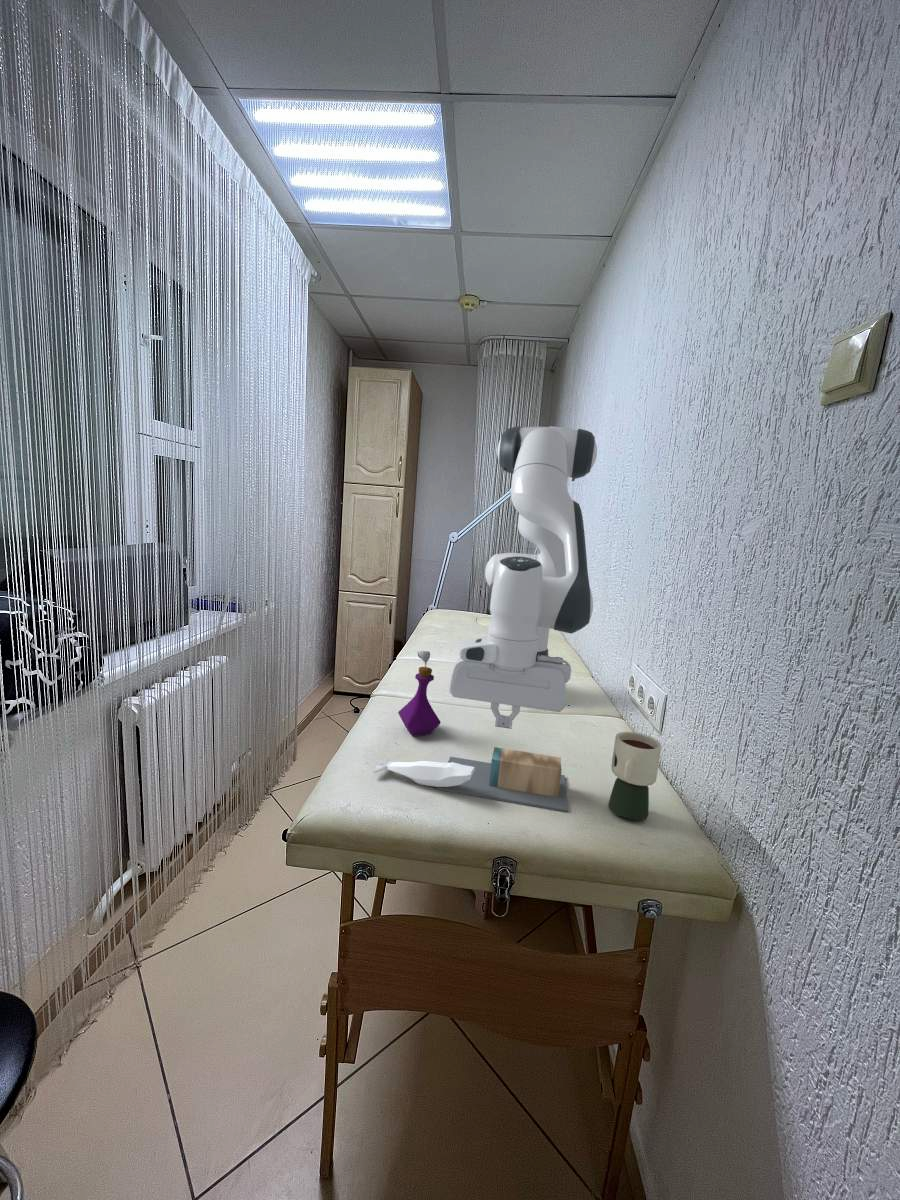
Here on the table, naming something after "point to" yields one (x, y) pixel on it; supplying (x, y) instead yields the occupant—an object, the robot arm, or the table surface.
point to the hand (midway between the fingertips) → (503, 726)
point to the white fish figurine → (429, 772)
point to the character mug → (633, 774)
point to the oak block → (525, 772)
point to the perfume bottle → (420, 704)
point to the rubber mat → (482, 789)
